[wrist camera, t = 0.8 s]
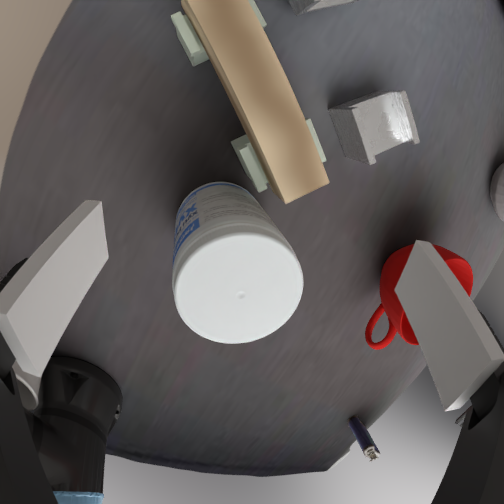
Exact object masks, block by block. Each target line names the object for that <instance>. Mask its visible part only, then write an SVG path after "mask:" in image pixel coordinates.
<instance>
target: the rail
mask: <svg viewBox="0 0 504 504" xmlns="http://www.w3.org/2000/svg"><path fill="white" fill-rule="evenodd" d="M181 6H182V8H183V10H184V12H185V13H186V15H187V17H188V19H189V21H190V23H191V25H192V26H193V28H194V30H195V32H196V34H197V36H198V38H199V40H200V42H201V44H202V46H203V47H204V49H205V51H206V53H207V55H208V57H209V59H210V61H211V63H212V65H213V67H214V69H215V71H216V73H217V75H218V77H219V79H220V81H221V83H222V85H223V87H224V89H225V91H226V93H227V95H228V97H229V99H230V101H231V103H232V105H233V107H234V109H235V111H236V114H237V116H238V118H239V120H240V122H241V124H242V126H243V128H244V130H245V132H246V134H247V137H248V139H249V141H250V143H251V145H252V147H253V149H254V152H255V154H256V156H257V158H258V160H259V162H260V165H261V167H262V169H263V171H264V173H265V176H266V178H267V180H268V182H269V184H270V187H271V189H272V191H273V192H274V193H275V194H276V195H277V196H278V197H279V198H280V199H281V200H282V201H283V202H284V203H285V204H287V203H289V202H291V201H293V200H295V199H297V198H299V197H301V196H303V195H305V194H307V193H309V192H311V191H313V190H316V189H318V188H320V187H322V186H324V185H326V184H328V183H329V180H328V177H327V175H326V172H325V169H324V166H323V164H322V161H321V158H320V156H319V153H318V151H317V148H316V145H315V143H314V140H313V138H312V135H311V133H310V130H309V128H308V125H307V123H306V121H305V118H304V116H303V113H302V111H301V109H300V106H299V104H298V102H297V99H296V97H295V95H294V93H293V90H292V88H291V86H290V84H289V81H288V79H287V77H286V75H285V73H284V71H283V68H282V66H281V64H280V62H279V60H278V58H277V56H276V54H275V52H274V50H273V48H272V45H271V43H270V41H269V39H268V37H267V35H266V34H265V32H264V30H263V28H262V26H261V24H260V22H259V20H258V18H257V16H256V14H255V12H254V11H253V9H252V7H251V5H250V3H249V1H248V0H181Z"/></svg>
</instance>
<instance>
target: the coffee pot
mask: <svg viewBox="0 0 504 504" xmlns="http://www.w3.org/2000/svg"><path fill="white" fill-rule="evenodd" d="M490 196H491V200H492V204H493V207H494V210H495V212H496V214H497V215H498V217H499V218H500V219H501V220H503V221H504V163H503V164H501V165H500V166H499V167H498V168H497V169H496V171H495V172H494V175H493V177H492V181H491V186H490Z"/></svg>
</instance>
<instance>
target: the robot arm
mask: <svg viewBox="0 0 504 504" xmlns="http://www.w3.org/2000/svg"><path fill="white" fill-rule="evenodd" d="M108 258H109V256H108V250H107V243H106V235H105V227H104V219H103V209H102V201H94V200H85V201H84V202H83V203H82V204H81V205H80V206H79V207H78V208H77V209H76V210H75V211H74V212H73V213H72V214H71V215H70V216H69V217H68V218H67V219H66V220H65V221H64V222H63V223H62V224H61V225H60V226H59V227H58V228H57V229H56V230H55V231H54V232H53V233H52V234H51V235H50V236H49V237H48V238H47V239H46V240H45V241H44V242H43V243H42V244H41V246H40V247H39V248H38V249H37V250H36V251H35V252H34V253H33V254H32V255H31V257H30V258H25V259H24V260H22V261H21V262H19V263H18V264H16V265H15V266H14V267H13V268H12V269H11V270H10V272H9V273H8V274H7V277H4V279H3V280H2V281H1V284H0V504H102V500H103V498H104V494H103V479H104V463H105V452H106V441H107V437H108V435H109V433H110V432H111V430H112V428H113V426H114V425H115V423H116V421H117V419H118V417H119V416H120V413H121V407H122V393H121V391H120V389H119V387H118V385H117V384H116V383H115V381H114V380H113V379H112V378H111V377H110V376H109V375H107V374H106V373H105V372H103V371H102V370H101V369H99V368H97V367H96V366H94V365H92V364H90V363H87V362H85V361H82V360H79V359H75V358H70V357H52V358H50V357H51V355H52V353H53V351H54V350H55V348H56V346H57V344H58V342H59V340H60V338H61V336H62V335H63V333H64V331H65V329H66V327H67V326H68V324H69V322H70V320H71V318H72V317H73V315H74V313H75V311H76V310H77V308H78V306H79V305H80V303H81V301H82V300H83V298H84V296H85V295H86V293H87V291H88V290H89V288H90V286H91V285H92V283H93V281H94V280H95V278H96V277H97V275H98V273H99V272H100V270H101V269H102V267H103V266H104V264H105V263H106V261H107V260H108ZM395 292H396V294H397V296H398V298H399V300H400V303H401V305H402V307H403V309H404V311H405V313H406V316H407V318H408V320H409V322H410V324H411V327H412V329H413V331H414V334H415V336H416V338H417V340H418V343H419V345H420V348H421V350H422V352H423V355H424V357H425V360H426V362H427V365H428V367H429V370H430V372H431V375H432V378H433V380H434V383H435V385H436V388H437V391H438V393H439V396H440V399H441V402H442V405H443V408H444V411H449V410H453V409H459V408H461V407H462V406H463V405H464V404H465V403H466V402H467V401H468V400H469V399H471V402H472V406H470V407H469V408H468V409H467V410H466V411H465V412H464V413H463V414H462V415H461V416H460V417H459V418H458V419H457V420H456V422H455V423H456V424H458V423H459V422H460V421H461V420H462V419H464V422H463V423H462V424H461V425H460V426H461V427H462V429H461V432H460V435H459V438H458V441H457V444H456V446H455V449H454V452H453V455H452V457H451V460H450V462H449V465H448V467H447V470H446V472H445V475H444V477H443V479H442V482H441V484H440V486H439V489H438V491H437V493H436V495H435V497H434V499H433V501H432V503H431V504H504V348H503V347H502V345H501V343H500V341H499V340H498V338H497V336H496V335H494V331H493V329H492V328H491V327H490V324H489V323H488V321H487V320H486V318H485V316H484V315H483V314H482V313H481V312H480V311H479V310H478V309H477V308H476V306H475V305H474V303H473V302H472V300H471V299H470V297H469V296H468V294H467V293H466V291H465V290H464V288H463V287H462V285H461V284H460V282H459V281H458V280H457V278H456V277H455V275H454V274H453V273H452V271H451V270H450V268H449V267H448V266H447V264H446V263H445V261H444V260H443V259H442V257H441V256H440V255H439V253H438V252H437V251H436V249H435V248H434V247H433V246H432V244H431V243H430V242H426V241H420V240H416V242H415V244H414V247H413V249H412V251H411V254H410V256H409V259H408V261H407V263H406V265H405V268H404V270H403V272H402V274H401V277H400V279H399V281H398V283H397V285H396V288H395ZM15 360H16V361H17V362H18V364H19V366H20V367H21V369H22V370H23V371H24V372H27V373H29V374H32V375H35V376H38V377H41V375H42V378H41V383H40V388H39V393H38V405H37V407H36V408H35V409H34V413H31V412H30V411H28V410H27V409H26V408H24V407H23V405H22V401H21V397H20V393H19V389H18V384H17V380H16V375H15V372H14V370H13V368H12V366H13V364H14V362H15Z"/></svg>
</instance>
